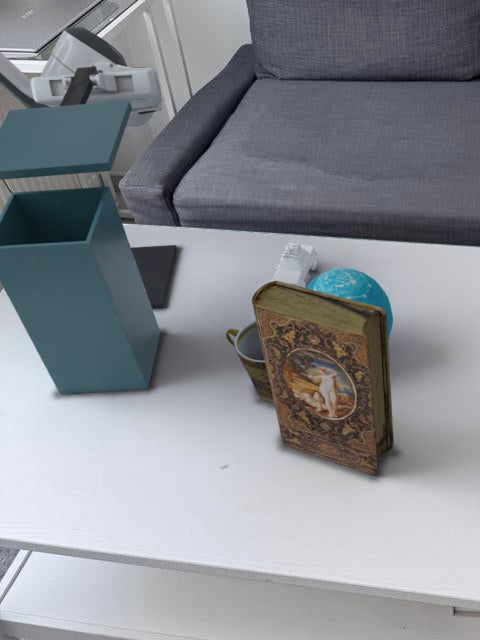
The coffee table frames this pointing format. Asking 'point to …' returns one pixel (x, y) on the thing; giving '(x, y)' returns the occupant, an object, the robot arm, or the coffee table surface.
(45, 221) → the bin
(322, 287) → the decorative orb
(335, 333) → the book
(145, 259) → the mat
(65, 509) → the coffee table surface
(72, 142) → the lid
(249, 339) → the ceramic cup
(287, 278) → the toy car
